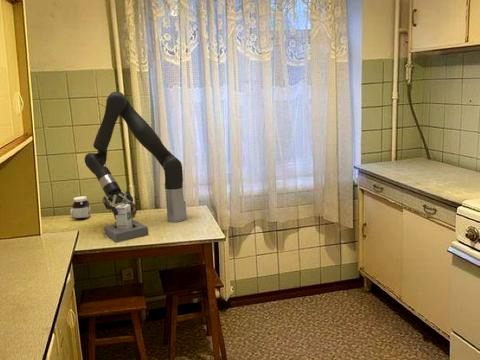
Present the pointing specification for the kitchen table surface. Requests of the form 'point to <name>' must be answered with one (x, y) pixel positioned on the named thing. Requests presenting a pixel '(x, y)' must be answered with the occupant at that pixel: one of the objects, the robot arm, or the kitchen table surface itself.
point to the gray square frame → (126, 231)
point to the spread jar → (80, 208)
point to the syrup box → (124, 217)
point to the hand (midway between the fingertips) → (124, 212)
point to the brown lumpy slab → (131, 211)
